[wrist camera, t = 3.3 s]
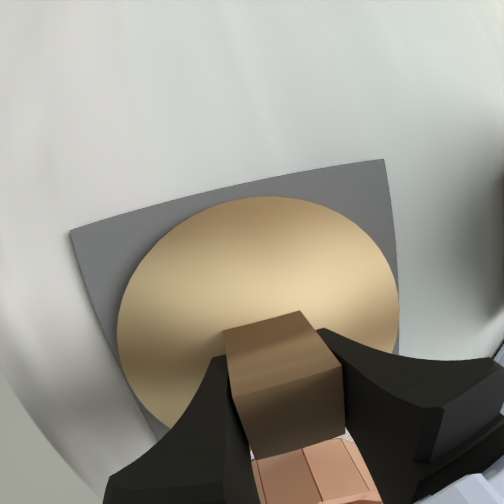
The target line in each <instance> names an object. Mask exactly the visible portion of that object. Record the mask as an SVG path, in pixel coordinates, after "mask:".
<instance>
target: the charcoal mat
mask: <svg viewBox="0 0 504 504" xmlns="http://www.w3.org/2000/svg"><path fill="white" fill-rule="evenodd" d="M259 196H277V197H285V198H293V199H300V200H305V201H308V202H312V203H315V204H319V205H322V206H324V207H326V208H329V209H331V210H333V211H335V212H337V213H340V214H341V215H343V216H344V217H346V218H347V219H349V220H350V221H352V222H354V223H355V224H356V225H357V226H359V227H360V228H361V229H362V230H363V231H364V232H365V233H366V234H367V235H369V236H370V238H371V239H372V240H373V241H374V243H375V244H376V245H377V246H378V248H379V249H380V250H381V252H382V254H383V255H384V257H385V259H386V261H387V262H388V264H389V267H390V269H391V272H392V274H393V277H394V280H395V284H396V288H397V293H398V301H399V291H398V270H397V255H396V243H395V233H394V223H393V215H392V207H391V199H390V192H389V186H388V179H387V173H386V167H385V162H384V159H379V160H372V161H365V162H358V163H351V164H345V165H339V166H333V167H327V168H321V169H315V170H309V171H304V172H298V173H293V174H288V175H283V176H278V177H273V178H268V179H263V180H258V181H253V182H248V183H244V184H239V185H235V186H230V187H226V188H221V189H217V190H213V191H209V192H204V193H200V194H196V195H192V196H188V197H184V198H180V199H176V200H172V201H169V202H165V203H161V204H157V205H154V206H150V207H146V208H143V209H139V210H135V211H132V212H128V213H125V214H122V215H118V216H115V217H111V218H108V219H105V220H101V221H98V222H95V223H92V224H89V225H85V226H82V227H79V228H76V229H73V230H70V234H71V238H72V242H73V245H74V249H75V252H76V256H77V259H78V262H79V265H80V269H81V272H82V275H83V278H84V281H85V284H86V287H87V290H88V293H89V295H90V298H91V301H92V304H93V306H94V309H95V312H96V314H97V317H98V319H99V322H100V324H101V327H102V329H103V332H104V334H105V337H106V339H107V341H108V344H109V346H110V348H111V350H112V353H113V355H114V357H115V359H116V362H117V364H118V366H119V368H120V370H121V372H122V374H123V376H124V378H125V380H126V382H127V384H128V386H129V388H130V390H131V392H132V394H133V396H134V398H135V400H136V402H137V404H138V405H139V407H140V409H141V411H142V413H143V414H144V416H145V418H146V420H147V422H148V423H149V425H150V427H151V428H152V430H153V432H154V433H155V435H156V437H157V438H158V440H159V441H160V439H161V438H162V437H163V436H164V435H165V434H166V433H167V432H168V431H169V430H170V428H169V427H167V426H166V425H165V424H163V423H162V422H161V421H159V420H158V419H157V418H156V417H155V416H154V415H153V414H152V413H150V412H149V411H148V410H147V409H146V407H145V406H144V405H143V404H142V403H141V401H140V400H139V399H138V397H137V396H136V395H135V393H134V391H133V389H132V388H131V386H130V384H129V383H128V380H127V378H126V376H125V373H124V371H123V368H122V365H121V360H120V356H119V352H118V342H117V325H118V315H119V310H120V306H121V302H122V298H123V295H124V293H125V291H126V288H127V286H128V283H129V281H130V279H131V277H132V275H133V274H134V272H135V271H136V269H137V267H138V266H139V264H140V262H141V261H142V260H143V259H144V257H145V256H146V255H147V254H148V253H149V252H150V250H151V249H152V248H153V247H154V246H155V244H156V243H157V242H158V241H159V240H160V239H161V238H163V237H164V236H165V235H166V234H167V233H168V232H169V231H171V230H172V229H173V228H174V227H175V226H177V225H178V224H180V223H181V222H183V221H185V220H186V219H188V218H189V217H191V216H192V215H194V214H197V213H199V212H201V211H203V210H205V209H207V208H209V207H212V206H215V205H218V204H221V203H224V202H228V201H231V200H236V199H242V198H248V197H259ZM392 354H395V355H398V354H399V325H398V331H397V337H396V341H395V345H394V348H393V351H392Z"/></svg>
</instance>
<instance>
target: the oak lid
mask: <svg viewBox="0 0 504 504" xmlns="http://www.w3.org/2000/svg"><path fill="white" fill-rule="evenodd" d="M398 325H399V301H398V293H397V288H396V284H395V280H394V277H393V274H392V272H391V269H390V267H389V264H388V262H387V261H386V259H385V257H384V255H383V254H382V252H381V250H380V249H379V248H378V246H377V245H376V244H375V243H374V241H373V240H372V239H371V238H370V236H369V235H367V234H366V233H365V232H364V231H363V230H362V229H361V228H360V227H359V226H357V225H356V224H355V223H354V222H352V221H350V220H349V219H347V218H346V217H344V216H343V215H341V214H340V213H337V212H335V211H333V210H331V209H329V208H326V207H324V206H322V205H319V204H315V203H312V202H308V201H305V200H300V199H293V198H285V197H277V196H259V197H248V198H242V199H236V200H231V201H228V202H224V203H221V204H218V205H215V206H212V207H209V208H207V209H205V210H203V211H201V212H199V213H197V214H194V215H192V216H191V217H189V218H188V219H186V220H185V221H183V222H181V223H180V224H178V225H177V226H175V227H174V228H173V229H172V230H171V231H169V232H168V233H167V234H166V235H165V236H164V237H163V238H161V239H160V240H159V241H158V242H157V243H156V244H155V246H154V247H153V248H152V249H151V250H150V252H149V253H148V254H147V255H146V256H145V257H144V259H143V260H142V261H141V262H140V264H139V266H138V267H137V269H136V271H135V272H134V274H133V275H132V277H131V279H130V281H129V283H128V286H127V288H126V291H125V293H124V295H123V298H122V302H121V306H120V310H119V315H118V325H117V342H118V352H119V356H120V360H121V365H122V368H123V371H124V373H125V376H126V378H127V380H128V383H129V384H130V386H131V388H132V389H133V391H134V393H135V395H136V396H137V397H138V399H139V400H140V401H141V403H142V404H143V405H144V406H145V407H146V409H147V410H148V411H149V412H150V413H152V414H153V415H154V416H155V417H156V418H157V419H158V420H159V421H161V422H162V423H163V424H165V425H166V426H167V427H169V428H170V429H171V428H172V427H173V426H174V425H175V423H176V422H177V421H178V420H179V418H180V417H181V416H182V414H183V413H184V411H185V410H186V408H187V407H188V405H189V403H190V402H191V400H192V398H193V397H194V395H195V393H196V391H197V390H198V388H199V386H200V384H201V382H202V380H203V377H204V375H205V373H206V371H207V368H208V366H209V363H210V360H211V359H212V357H216V356H221V355H225V354H226V357H227V364H228V371H229V378H230V385H231V392H232V398H233V400H234V403H235V406H236V409H237V412H238V415H239V417H240V420H241V423H242V426H243V428H244V431H245V434H246V436H247V439H248V442H249V445H250V450H252V452H253V455H254V457H255V460H256V461H257V460H261V459H265V458H269V457H273V456H277V455H281V454H285V453H288V452H292V451H295V450H299V449H302V448H305V447H308V446H312V445H315V444H318V443H321V442H324V441H327V440H329V439H332V438H335V437H338V436H341V435H343V434H345V411H344V393H343V377H342V365H341V364H340V363H339V361H338V360H337V359H336V357H335V356H334V355H333V353H332V352H331V351H330V349H329V348H328V347H327V345H326V344H325V343H324V341H323V340H322V339H321V337H320V336H319V335H318V333H317V332H316V331H315V330H317V329H321V328H327V329H329V330H331V331H333V332H336V333H338V334H340V335H342V336H344V337H346V338H349V339H351V340H353V341H356V342H358V343H361V344H363V345H366V346H369V347H371V348H374V349H378V350H381V351H384V352H387V353H391V354H392V351H393V348H394V345H395V341H396V337H397V331H398Z"/></svg>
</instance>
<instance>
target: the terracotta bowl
mask: <svg viewBox="0 0 504 504" xmlns="http://www.w3.org/2000/svg"><path fill="white" fill-rule="evenodd" d="M251 463H252V469H253V474H254V478H255V482H256V487H257V491H258V495H259V498H260V502H261V504H383V503H382V500H381V498H380V495H379V493H378V491H377V488H376V486H375V484H374V481H373V479H372V477H371V475H370V473H369V471H368V468H367V466H366V464H365V462H364V460H363V458H362V456H361V454H360V452H359V450H358V448H357V446H356V444H355V443H352V442H349V441H347V440H344V439H332V440H327V441H324V442H321V443H318V444H315V445H312V446H308V447H305V448H302V449H299V450H295V451H292V452H288V453H285V454H281V455H277V456H273V457H269V458H265V459H261V460H257V461H256V460H255V459H254V460H253V461H252V462H251Z"/></svg>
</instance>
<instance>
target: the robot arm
mask: <svg viewBox="0 0 504 504" xmlns="http://www.w3.org/2000/svg"><path fill="white" fill-rule="evenodd" d="M315 331H316V332H317V333H318V335H319V336H320V337H321V339H322V340H323V341H324V343H325V344H326V345H327V347H328V348H329V349H330V351H331V352H332V353H333V355H334V356H335V357H336V359H337V360H338V361H339V363H340V364H341V365H342V377H343V393H344V411H345V427H346V429H347V430H348V432H349V433H350V435H351V437H352V438H353V440H354V442H355V444H356V446H357V448H358V450H359V452H360V454H361V456H362V458H363V460H364V462H365V464H366V466H367V468H368V471H369V473H370V475H371V477H372V479H373V481H374V484H375V486H376V488H377V491H378V493H379V495H380V498H381V500H382V503H383V504H504V344H503V346H502V347H501V349H500V350H499V352H498V353H497V355H496V356H495V358H494V359H491V358H490V357H487V358H479V359H470V360H456V361H440V360H426V359H416V358H410V357H405V356H400V355H395V354H391V353H387V352H384V351H381V350H378V349H374V348H371V347H369V346H366V345H363V344H361V343H358V342H356V341H353V340H351V339H349V338H346V337H344V336H342V335H340V334H338V333H336V332H333V331H331V330H329V329H327V328H321V329H317V330H315ZM103 504H261V502H260V498H259V495H258V491H257V487H256V482H255V478H254V474H253V469H252V463H251V454H250V445H249V442H248V439H247V436H246V434H245V431H244V428H243V426H242V423H241V420H240V417H239V415H238V412H237V409H236V406H235V403H234V400H233V398H232V392H231V385H230V378H229V371H228V364H227V357H226V354H225V355H221V356H216V357H212V359H211V360H210V363H209V366H208V368H207V371H206V373H205V375H204V377H203V380H202V382H201V384H200V386H199V388H198V390H197V391H196V393H195V395H194V397H193V398H192V400H191V402H190V403H189V405H188V407H187V408H186V410H185V411H184V413H183V414H182V416H181V417H180V418H179V420H178V421H177V422H176V423H175V425H174V426H173V427H172V428H171V429H170V430H169V431H168V432H167V433H166V434H165V435H164V436H163V437H162V438H161V439H160V441H159V442H157V443H156V444H155V445H154V446H153V447H152V448H151V449H150V450H148V451H147V452H146V453H145V454H143V455H142V456H141V457H140V458H138V459H137V460H135V461H134V462H133V463H131V464H129V465H128V466H126V467H125V468H123V469H122V470H120V471H118V472H117V473H115V474H113V475H111V476H110V477H109V480H108V483H107V486H106V490H105V495H104V499H103Z"/></svg>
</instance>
